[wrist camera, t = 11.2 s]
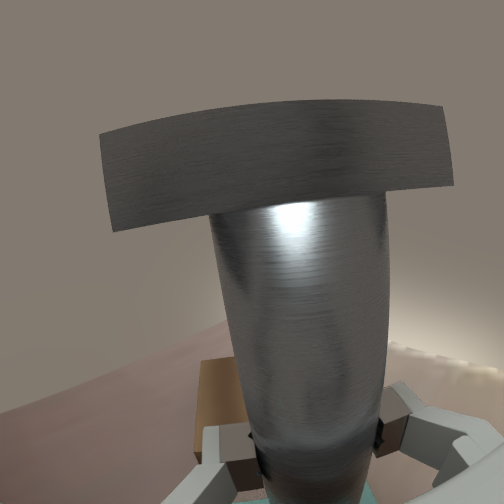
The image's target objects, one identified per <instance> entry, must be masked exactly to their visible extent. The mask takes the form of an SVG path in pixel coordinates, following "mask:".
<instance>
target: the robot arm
mask: <svg viewBox="0 0 504 504" xmlns="http://www.w3.org/2000/svg"><path fill="white" fill-rule="evenodd" d="M398 450H400V452H402V453H404V454H406V455H408V456H410V457H412V458H414V459H416V460H418V461H420V462H422V463H424V464H426V465H428V466H431V467H433V468H435V469H437V470H439V472H438V474H437V476H436V477H435V479H434V481H433V483H432V486H433V487H434V488H433V489H431V490H429V491H427V492H426V493H424V494H422V495H420V496H418V497H416V498H414V499H412V500H409V501H407V502H405V503H403V504H504V438H503V437H502V436H501V435H500V434H499V433H498V432H497V431H496V430H495V429H494V428H493V427H492V426H491V425H490V424H489V423H488V422H487V421H486V420H483V419H479V418H475V417H471V416H467V415H463V414H459V413H455V412H451V411H448V410H444V409H440V408H437V407H433V406H428V407H426V406H425V405H424V404H423V403H422V402H421V400H420V399H419V398H418V397H417V396H416V395H415V394H414V393H413V392H412V390H411V389H410V388H409V387H408V386H407V385H406V384H405V383H404V382H402V381H400V382H398V383H395V384H392V385H390V386H388V387H384V388H383V392H382V400H381V407H380V413H379V419H378V425H377V431H376V436H375V442H374V447H373V453H374V454H375V456H376V458H379V457H382V456H385V455H388V454H390V453H393V452H395V451H398ZM261 488H264V484H263V478H262V472H261V468H260V464H259V461H258V456H257V452H256V448H255V444H254V441H253V437H252V432H251V428H250V424H249V422H244V423H235V424H226V425H219V426H206V427H204V429H203V439H202V464H199V465H196V466H195V467H194V469H193V470H192V471H191V472H190V473H189V474H188V475H187V476H186V477H185V479H184V480H183V481H182V482H181V483H180V484H179V485H178V486H177V487H176V488H175V489H174V490H173V491H172V492H171V494H170V495H169V496H168V497H167V498H166V499H165V500H164V501H163V502H162V503H161V504H232V502H233V501H234V499H235V497H236V496H237V494H238V493H237V492H242V491H249V490H255V489H261ZM0 504H2V503H0Z"/></svg>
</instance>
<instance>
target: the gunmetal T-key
mask: <svg viewBox="0 0 504 504" xmlns="http://www.w3.org/2000/svg"><path fill="white" fill-rule="evenodd" d="M99 138H100V148H101V158H102V166H103V174H104V182H105V188H106V195H107V201H108V207H109V213H110V219H111V225H112V230H113V232H118V231H123V230H128V229H133V228H137V227H143V226H148V225H154V224H159V223H164V222H169V221H176V220H180V219H187V218H192V217H198V216H204V215H209V219H210V226H211V232H212V238H213V243H214V249H215V255H216V260H217V267H218V272H219V277H220V283H221V289H222V294H223V299H224V305H225V310H226V315H227V320H228V325H229V330H230V336H231V341H232V345H233V350H234V355H235V360H236V365H237V370H238V374H239V379H240V384H241V388H242V393H243V397H244V402H245V406H246V411H247V415H248V420H249V424H250V428H251V432H252V437H253V441H254V444H255V448H256V452H257V456H258V461H259V464H260V468H261V472H262V477H263V481H264V485H265V489H266V493H267V497H268V500H269V504H359V503H360V500H361V496H362V493H363V489H364V485H365V481H366V478H367V473H368V469H369V465H370V461H371V456H372V451H373V447H374V442H375V436H376V431H377V425H378V419H379V413H380V407H381V400H382V392H383V384H384V376H385V366H386V355H387V342H388V326H389V325H388V324H389V298H390V297H389V296H390V264H389V263H390V262H389V234H388V218H387V204H386V193H385V191H393V190H405V189H417V188H429V187H442V186H453V185H454V181H453V171H452V161H451V153H450V146H449V139H448V133H447V127H446V122H445V116H444V112H443V107H442V106H435V105H427V104H418V103H407V102H395V101H379V100H299V101H283V102H270V103H258V104H248V105H239V106H232V107H224V108H217V109H210V110H204V111H198V112H192V113H187V114H181V115H176V116H171V117H166V118H161V119H158V120H152V121H148V122H144V123H140V124H136V125H132V126H128V127H124V128H120V129H117V130H113V131H109V132H106V133H102V134H100V136H99Z"/></svg>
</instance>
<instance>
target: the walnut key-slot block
mask: <svg viewBox="0 0 504 504" xmlns="http://www.w3.org/2000/svg"><path fill="white" fill-rule="evenodd" d="M244 422H249V420H248V415H247V411H246V406H245V402H244V397H243V393H242V388H241V384H240V379H239V374H238V370H237V365H236V360H235V356H234V357H227V358H220V359H212V360H204V361H201V366H200V377H199V388H198V400H197V412H196V426H195V440H194V454H195V456H196V458H197V461H198V463H199V464H202V439H203V429H204V427H206V426H219V425H226V424H235V423H244Z"/></svg>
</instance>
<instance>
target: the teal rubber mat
mask: <svg viewBox="0 0 504 504" xmlns="http://www.w3.org/2000/svg"><path fill="white" fill-rule="evenodd" d="M232 504H269V500H268V499H261V500H254V501H245V502H236V503H232ZM359 504H377V502H376V500H375V498H374V496H373V494H372V492H371V490H370V488H369V486H368V483H367V481H365V485H364V489H363V493H362V496H361V500H360V503H359Z"/></svg>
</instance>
